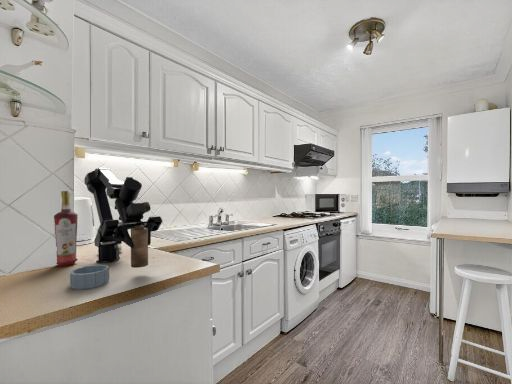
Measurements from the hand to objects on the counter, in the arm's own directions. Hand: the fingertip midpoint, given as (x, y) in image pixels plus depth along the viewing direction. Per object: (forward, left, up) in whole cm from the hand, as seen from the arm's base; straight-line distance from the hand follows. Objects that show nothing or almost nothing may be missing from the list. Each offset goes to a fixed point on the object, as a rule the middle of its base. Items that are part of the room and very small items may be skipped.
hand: (141, 245), depth 86 cm
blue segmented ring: (-13, -6, -10) cm, 17 cm away
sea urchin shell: (-26, +33, -10) cm, 43 cm away
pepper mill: (-1, +1, -7) cm, 7 cm away
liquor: (-34, +16, -10) cm, 39 cm away
